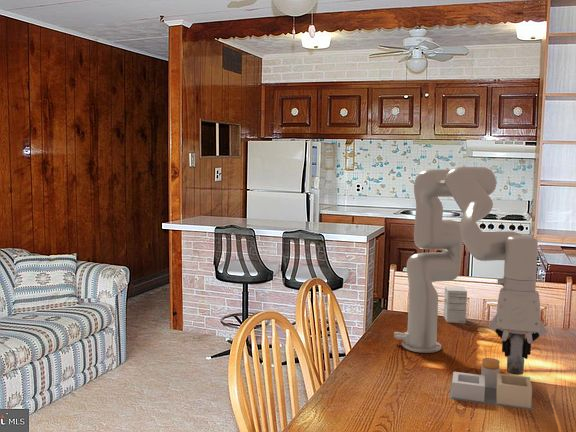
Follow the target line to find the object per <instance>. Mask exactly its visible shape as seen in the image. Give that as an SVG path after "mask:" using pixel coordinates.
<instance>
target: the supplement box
mask: <svg viewBox="0 0 576 432" xmlns="http://www.w3.org/2000/svg"><path fill="white" fill-rule="evenodd" d="M467 298H468V290H467V289H466V288H465V287H463V286H444V298H443V299H444V303H443V319H445V322H446V323H454V324H467V322H466V320H467V303H468V302H467V300H468V299H467Z"/></svg>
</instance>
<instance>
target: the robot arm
mask: <svg viewBox="0 0 576 432" xmlns="http://www.w3.org/2000/svg"><path fill="white" fill-rule="evenodd" d="M496 187H497V177H496V176H495V173H494V172H493V171H492V170H491V169H490V168H488V167H485V166H484V167H483V166H459V167H455V168H453V169H441V168H439V169H426V170H423V171H421V172H419V173H418V174H417V176H416V178H415V179H414V184H413V192H414V193H413V194H414V199H415V217H414V231H413V241H414V242H413V243H414V245H415V246H416V247H417V248H418V249H420V250H421V249H422V250H441V251H440V252H439V251H437V252H436V251H435V252H419V253H414V254H412V255H411V256H409V257H408V259H407V261H406V273H407V274H406V275H407V278H408V279H407V280H408V282H407V283H408V305H407V307H408V308H407V310H408V311H407V330H406V331H404V332H400V331H393V338H395V339H396V340H399V341H401V340H402V343H401V345H402V347H403V349H405V350H407V351H411V352H414V353H421V354H422V353H423V354H431V353H437V352H439V351H440V350H442V344H441V343H440V342H438V341H437V339H438V338H437V337H438V336H437V335H438V316H439V314H438V313H439V311H438V310H439V295H438V292H437V289H436V288H435V286H434V285H433V283H435V282H449V281H454V280H456V279H457V278H458V277H459V275H460V273H461V267H462V266H461V265H462V257H463V245H464V246H465V247H466V249H467V251H468V252H469V253H470V255H471V256H472V257H473V258H474V259H476V260H478V261H483V262H487V261H488V262H490V261H504V264H503V265H504V266H503V267H504V268H503V269H504V270H503V277H502V278H497V285H500V286H502V287H500V290H499V293H498V300H497V306H496V314H495V316H494V317H492V319H491V321H489V323H488V325H487V327H488V328H489V329H490V330H491V331H493V332H494V333H495V334H496V335H497V336H498V337H499V338H500V339H501V341H502V343H501V344H502V345H501V352H502V353H504V357H505V358H507V356H508V347H509V341H508V334H509V332H510V331H518V332H523V333H525V334H526V335H525V351H524V360H525V359H526V360H528V355H529V356H530V355H531V350H532V349H531V348H532V343H533V342H534V341H536V340H537V339H538V338H539V337H541V336H543V335H545V334H547V333H548V329H547V328H546V326H545V325H544V323H543V322H542V320H541V299H540V293H539V291H537V290H536V288H537V287H536V284H537V267H538V266H537V265H538V247H539V245H538V244H539V242H538V239H536V238H535V237H534V236H530V235H522V234H521V233H518V232H516V231H509V230H508V231H482V229H481V228H480V227H479V225H478V223H477V222H478V221H481V220H483V219H484V218H485V217H487V216H488V215H489V214H490V212H491V211H492V209H493V207H494V203H493V200H492V198H491V197H490V195H491V194H493V193H494V192H495V190H496ZM440 197H441V198H442V197H443V198H445V197H446V198H450V197H452V198H453V199H454V201H455V202H456V204H457V207H459V209H460V211H461V212H462V216H461V219H460V222H457V221H455V220H453V219H443V214H444V207H443V203H442V201H441V200H440Z"/></svg>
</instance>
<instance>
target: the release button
mask: <svg viewBox="0 0 576 432" xmlns="http://www.w3.org/2000/svg"><path fill="white" fill-rule="evenodd" d="M482 366H483V367H485V368H489V369H498V368H499V366H500V360H498V359H496V358H492V357H484V358H483V359H482V360H481V367H482Z"/></svg>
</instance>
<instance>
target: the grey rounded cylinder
mask: <svg viewBox="0 0 576 432" xmlns="http://www.w3.org/2000/svg"><path fill="white" fill-rule="evenodd" d="M507 337H508V341H509V347H508V356H507V357H506V373H507V374H509V375H516V376H522V375H524V372H525V371H524V370H525V368H524V367H525V358H524V351H525V339H526V332H519V331H509V332H508V336H507Z"/></svg>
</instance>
